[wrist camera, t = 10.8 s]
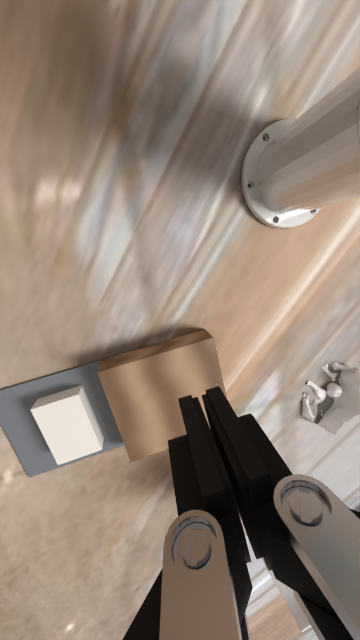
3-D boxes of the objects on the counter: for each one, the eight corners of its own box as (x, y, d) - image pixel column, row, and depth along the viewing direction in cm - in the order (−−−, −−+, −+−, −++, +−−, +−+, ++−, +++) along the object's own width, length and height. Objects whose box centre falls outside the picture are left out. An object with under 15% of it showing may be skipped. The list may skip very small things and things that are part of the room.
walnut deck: (204, 329, 36) (213, 337, 32) (222, 410, 40) (232, 426, 36) (101, 359, 34) (97, 372, 30) (130, 441, 38) (130, 462, 34)
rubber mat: (101, 359, 34) (101, 360, 34) (130, 441, 38) (131, 442, 38) (-14, 393, 32) (-15, 395, 32) (29, 476, 36) (29, 477, 36)
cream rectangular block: (30, 409, 31) (37, 399, 33) (58, 465, 33) (62, 451, 36) (78, 394, 32) (82, 384, 34) (102, 449, 34) (104, 437, 36)
